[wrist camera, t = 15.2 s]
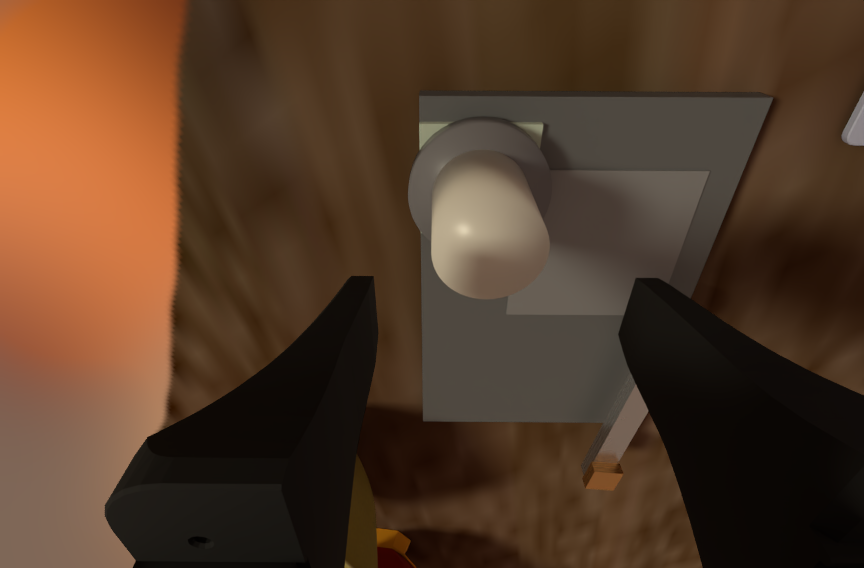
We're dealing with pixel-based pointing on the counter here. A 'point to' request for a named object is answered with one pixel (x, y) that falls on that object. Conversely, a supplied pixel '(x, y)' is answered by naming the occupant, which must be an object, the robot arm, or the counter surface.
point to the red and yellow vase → (392, 549)
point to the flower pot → (361, 523)
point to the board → (584, 246)
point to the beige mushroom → (482, 206)
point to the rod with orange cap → (614, 438)
